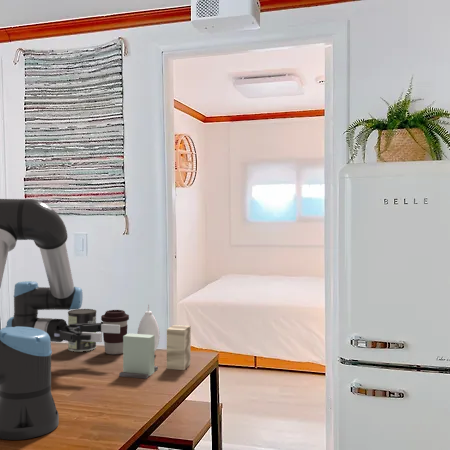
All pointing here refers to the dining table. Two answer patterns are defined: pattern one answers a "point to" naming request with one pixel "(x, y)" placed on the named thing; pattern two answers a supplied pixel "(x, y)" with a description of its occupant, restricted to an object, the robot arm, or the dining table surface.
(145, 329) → the sauce bottle
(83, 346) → the can
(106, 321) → the travel mug
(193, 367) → the dining table surface
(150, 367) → the pale green block
